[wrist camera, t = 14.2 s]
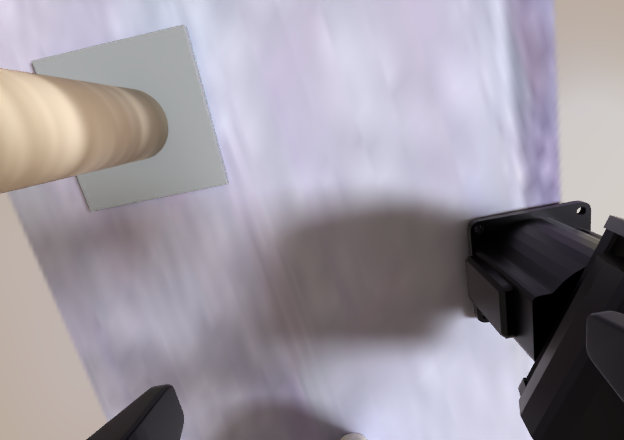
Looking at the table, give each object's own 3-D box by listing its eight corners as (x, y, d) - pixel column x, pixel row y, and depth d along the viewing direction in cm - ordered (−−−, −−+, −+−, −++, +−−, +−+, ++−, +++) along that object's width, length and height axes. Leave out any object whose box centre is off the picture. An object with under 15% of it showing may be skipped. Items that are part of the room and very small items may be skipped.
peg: (135, 73, 18) (-445, -66, 4) (182, 133, 18) (-183, 175, 5) (85, 116, 18) (-556, 114, 5) (133, 172, 19) (-308, 303, 6)
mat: (186, 27, 17) (183, 24, 17) (228, 182, 20) (226, 184, 19) (39, 62, 18) (31, 60, 18) (95, 209, 20) (90, 211, 20)
